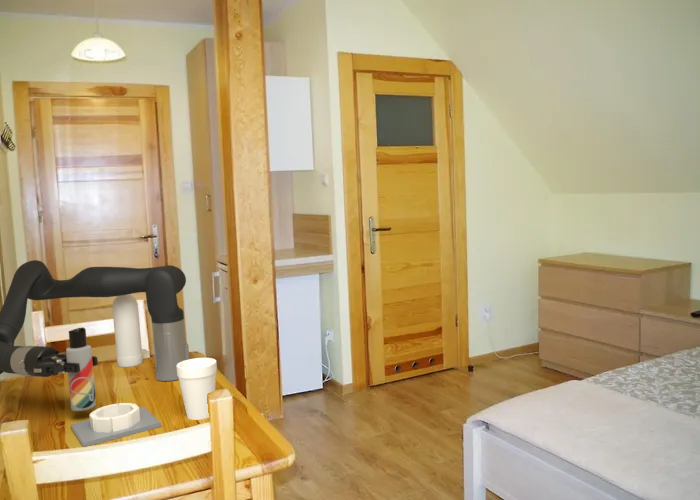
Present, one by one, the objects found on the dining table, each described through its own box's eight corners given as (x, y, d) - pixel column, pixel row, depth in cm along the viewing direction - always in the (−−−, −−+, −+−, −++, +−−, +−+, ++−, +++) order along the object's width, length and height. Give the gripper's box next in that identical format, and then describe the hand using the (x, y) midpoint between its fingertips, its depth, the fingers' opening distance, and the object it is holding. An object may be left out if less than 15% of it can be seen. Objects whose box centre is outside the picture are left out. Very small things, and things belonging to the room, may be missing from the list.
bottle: (116, 363, 197) (108, 273, 194) (141, 359, 201) (133, 270, 198) (118, 369, 190) (110, 275, 187) (144, 364, 194) (136, 272, 191)
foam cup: (184, 409, 151) (181, 359, 150) (222, 406, 152) (218, 356, 151) (177, 423, 142) (173, 370, 140) (217, 420, 143) (213, 367, 141)
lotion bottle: (86, 411, 145) (79, 330, 143) (65, 411, 146) (58, 330, 144) (100, 403, 150) (94, 325, 149) (80, 403, 152) (74, 325, 150)
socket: (143, 410, 152) (142, 395, 151) (161, 426, 140) (159, 410, 140) (71, 428, 142) (69, 411, 142) (83, 447, 131) (81, 429, 130)
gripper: (59, 367, 159) (110, 370, 153) (12, 384, 146) (66, 389, 140) (56, 339, 158) (107, 342, 152) (9, 354, 145) (62, 357, 139)
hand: (87, 364), depth 146 cm, fingers closed on lotion bottle, 5 cm apart
